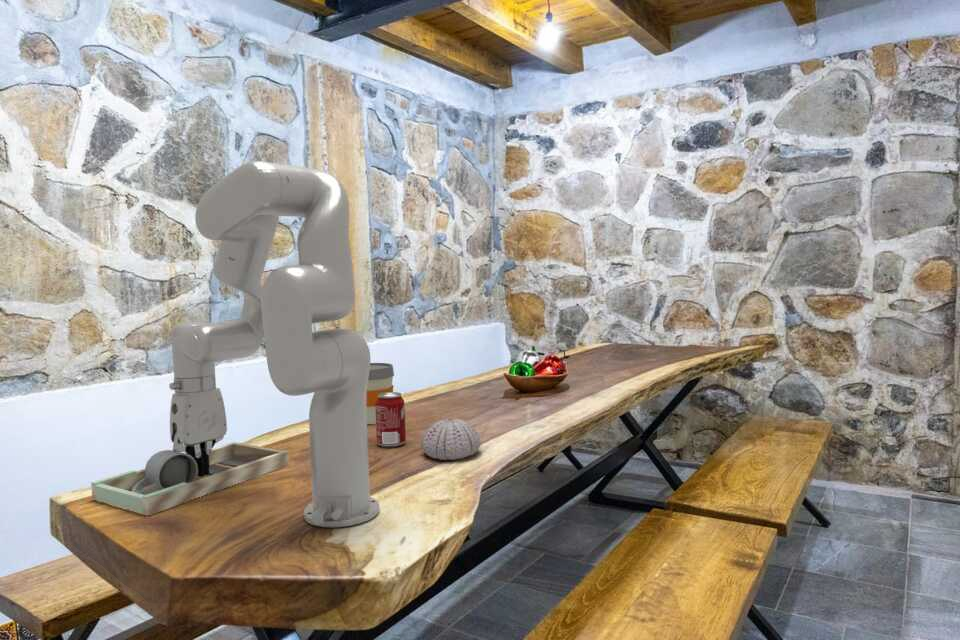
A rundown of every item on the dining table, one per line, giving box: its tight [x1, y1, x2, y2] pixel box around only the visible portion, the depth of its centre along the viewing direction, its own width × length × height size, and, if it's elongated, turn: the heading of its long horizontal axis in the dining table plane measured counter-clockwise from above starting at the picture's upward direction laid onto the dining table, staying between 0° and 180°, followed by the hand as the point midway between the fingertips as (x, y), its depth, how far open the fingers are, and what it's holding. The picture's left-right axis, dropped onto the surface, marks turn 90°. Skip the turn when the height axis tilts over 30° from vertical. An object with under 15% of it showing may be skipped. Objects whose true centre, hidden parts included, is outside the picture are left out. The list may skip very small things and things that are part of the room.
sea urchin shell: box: [420, 418, 482, 461], centre depth 146 cm, size 13×14×8 cm
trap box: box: [91, 441, 290, 515], centre depth 131 cm, size 32×17×3 cm, turn 149°
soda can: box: [375, 391, 407, 448], centre depth 154 cm, size 7×7×12 cm
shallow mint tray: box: [90, 469, 188, 514], centre depth 121 cm, size 8×17×3 cm, turn 59°
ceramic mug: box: [131, 449, 198, 495], centre depth 125 cm, size 11×8×8 cm
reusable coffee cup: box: [366, 362, 395, 425], centre depth 179 cm, size 13×13×15 cm
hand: (200, 474), depth 132 cm, fingers closed
